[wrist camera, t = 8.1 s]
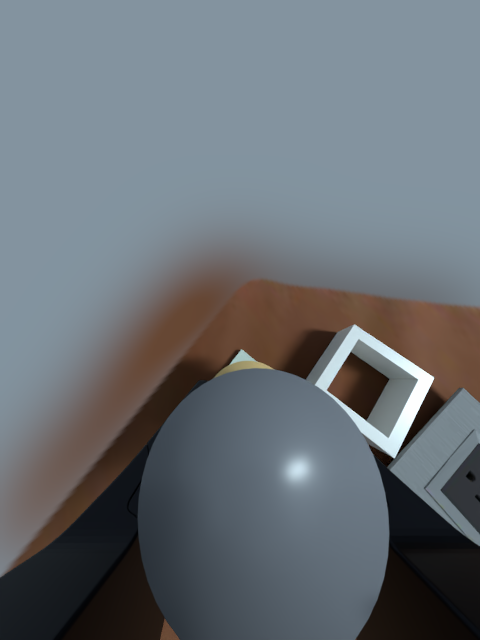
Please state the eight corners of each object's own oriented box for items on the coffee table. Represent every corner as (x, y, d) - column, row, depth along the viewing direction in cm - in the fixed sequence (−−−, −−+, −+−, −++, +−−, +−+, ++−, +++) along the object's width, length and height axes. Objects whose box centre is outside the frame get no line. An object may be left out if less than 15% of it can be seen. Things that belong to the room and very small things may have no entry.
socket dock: (367, 443, 16) (394, 458, 13) (299, 389, 17) (310, 392, 14) (402, 377, 17) (434, 377, 14) (337, 332, 19) (354, 324, 16)
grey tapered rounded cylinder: (268, 448, 14) (427, 928, 2) (203, 419, 15) (7, 631, 3) (288, 378, 16) (455, 390, 3) (228, 355, 16) (182, 292, 4)
